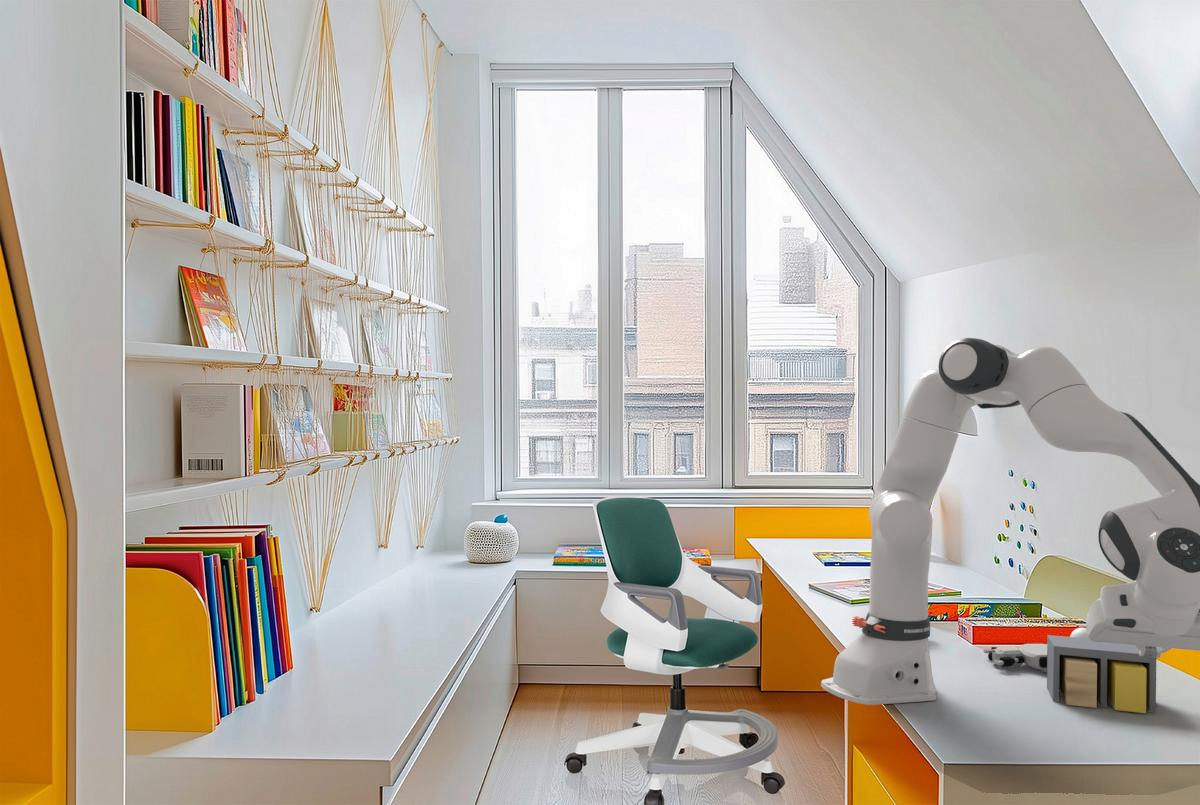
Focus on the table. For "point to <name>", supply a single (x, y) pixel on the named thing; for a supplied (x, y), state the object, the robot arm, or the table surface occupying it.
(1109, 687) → the yellow rectangular block
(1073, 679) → the light wood block
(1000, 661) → the robot toy
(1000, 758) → the table surface
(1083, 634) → the white egg
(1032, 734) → the table surface
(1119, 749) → the table surface
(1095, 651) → the grey slotted holder
